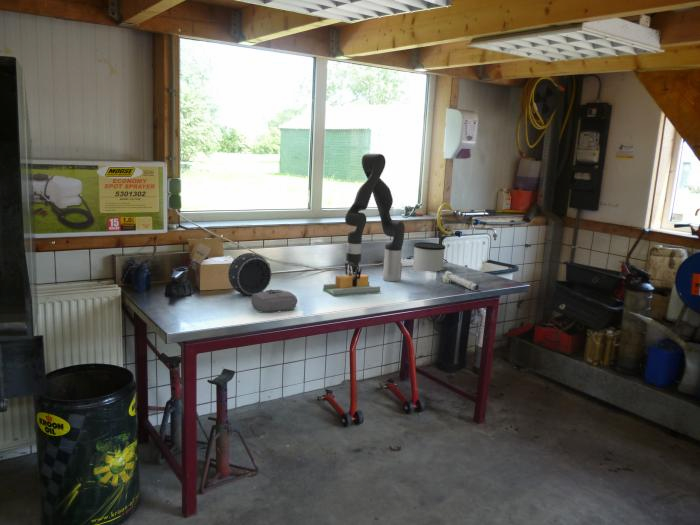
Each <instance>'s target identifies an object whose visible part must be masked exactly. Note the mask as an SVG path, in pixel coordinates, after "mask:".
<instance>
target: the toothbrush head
mask: <svg viewBox="0 0 700 525" xmlns="http://www.w3.org/2000/svg"><path fill="white" fill-rule="evenodd" d="M442 281H443V283H445V282H446V283H447V284H452V283H453V282H455V283H457V284H458V285H461V286H463V287H465V288H467V289H471V290H470V291H472V290H473V291H472V292H476V291H475V290H478V291H479V289H480V286H479V284H477V283H475V282H474V281H471V280H468V279H465V278H463V277H461V276H458V275H456V274H453V272H452V271H450V270H449V271H448V270H447V271H445V272H444V275H442ZM451 282H452V283H451Z"/></svg>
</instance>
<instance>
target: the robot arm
mask: <svg viewBox="0 0 700 525" xmlns="http://www.w3.org/2000/svg"><path fill="white" fill-rule="evenodd" d="M385 167H386V157H385V155H383V153H365V154H363V155H362V157H361V168H362V170H363V172H364V174H365V176H366V181H364V183H363V184H362V185H361V186H360V187H359V189H358V190H357V192H356V195H355V197H354V202H353V203H352V204H351V206H350V207H349V209H348V210H347V212H346V214H345V217H344V222H345V224H346V225H347V226H351V227H356V228H355V229H354V230H349V231H348V233H347V242H346V243H347V244H346V252H345V253H346V254H345V257H346V258H345V260H346V262H345V263H344V269H345V270H344V271H345V276H346V275H352V276H353V283H352V286H353V287H355V286H357V279H360V275H361V274H362V270H363V268H362V267H360V264H359V263H361V261H362V246H363V245H362V242H363V241H362V240H363V233H364V230H365V226H366V224H367V216H366V214H365V213H364V212H360V211H365V210H367V209H368V205H369V203H370V200H371V197H372V194H373V198H374V201H375V204H376V207H377V211H378V213H379V214H378V215H379V218H380V222H381V228H382V232H383V234H384V235H385V236H387V237H391V238H392V241H391V242H387V243H385V244H384V245H385V246H384V254H383V255H384V256H383V258H384V260H383V272H382V279H383V280H384V281H387V282H399V281H402V271H403V264H402V251H403V250H402V249H403V245H404V240H405V230H406V228H405V223H404V222H403V221H402V220H394V219H392V217H391V214H390V211H391V209H392V206H393V203H394V201H393V195H392V193H391V192H392V191H391V189H390V187H389V186H388V184H386V183H385V182H384V181H383V179H382V178H381V176H382V174H383V172H384V170H385ZM354 275H355V276H354Z"/></svg>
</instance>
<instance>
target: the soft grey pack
mask: <svg viewBox="0 0 700 525" xmlns="http://www.w3.org/2000/svg"><path fill="white" fill-rule="evenodd" d="M250 300H251V301H250V302H251V305H252V308H253V309H254V310H255V311H256V310H257V311H256V312H258V311H259V312H258V313H279V312H278V311H281V312H287V311H291V310H294V309H295V308H296V307H297V304H298V297H297V296H296V295H295V294H293V293H292V292H290V291H287V290H281V289H269V290H264V291H263V292H260V293H256V294H253V295H252V296H251V299H250ZM286 310H287V311H286Z"/></svg>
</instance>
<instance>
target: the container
mask: <svg viewBox="0 0 700 525" xmlns="http://www.w3.org/2000/svg"><path fill="white" fill-rule="evenodd" d="M413 246H414V252H413V261H412V262H413V264H412V268H414V269H413V270H415V269H417V270H416V271H419V270H421V271H420V272H425V271H440V270H444V258H445V250H446V245H444V244H442V243H437V242H424V241H421V242H419V241H418V242H415V243H414V244H413ZM440 272H441V271H440Z"/></svg>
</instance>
